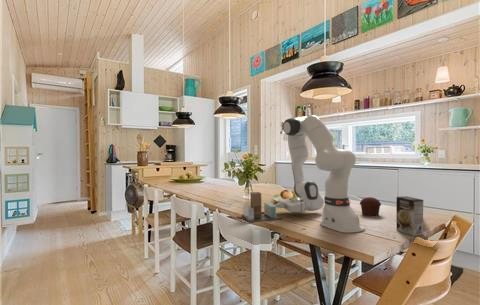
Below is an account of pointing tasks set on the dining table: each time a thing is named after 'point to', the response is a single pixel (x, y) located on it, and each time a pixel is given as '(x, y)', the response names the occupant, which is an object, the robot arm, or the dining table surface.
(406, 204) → the coffee box
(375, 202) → the muffin
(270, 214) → the sliding jaw
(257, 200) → the walnut block
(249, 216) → the vise
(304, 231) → the dining table surface
